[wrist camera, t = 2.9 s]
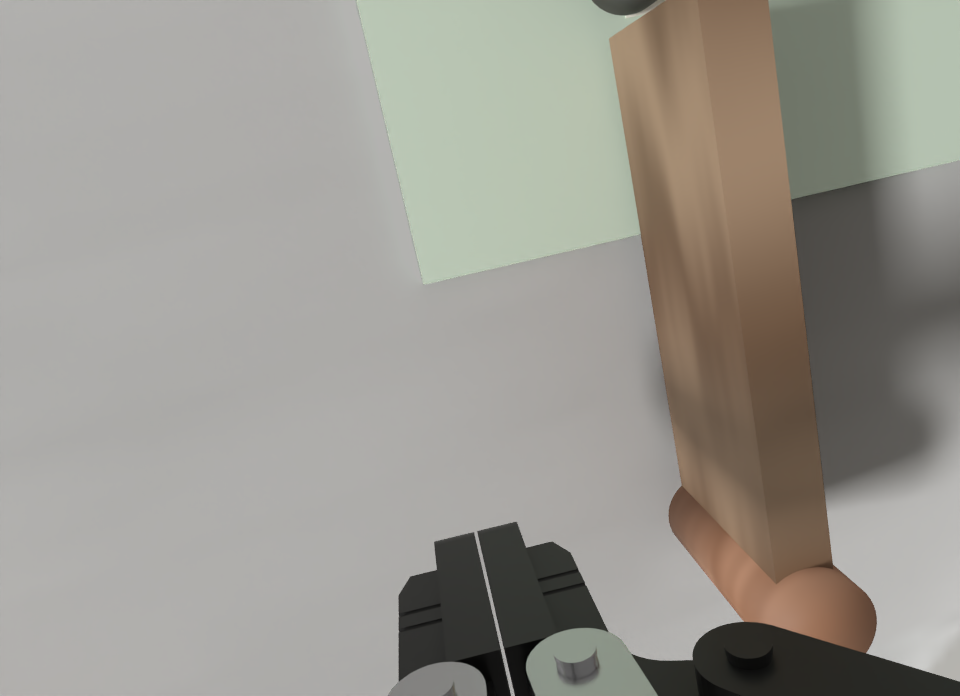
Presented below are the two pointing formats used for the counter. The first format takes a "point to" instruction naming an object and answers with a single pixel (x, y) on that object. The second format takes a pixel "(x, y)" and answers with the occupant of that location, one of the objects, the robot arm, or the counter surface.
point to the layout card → (598, 122)
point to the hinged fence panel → (731, 311)
